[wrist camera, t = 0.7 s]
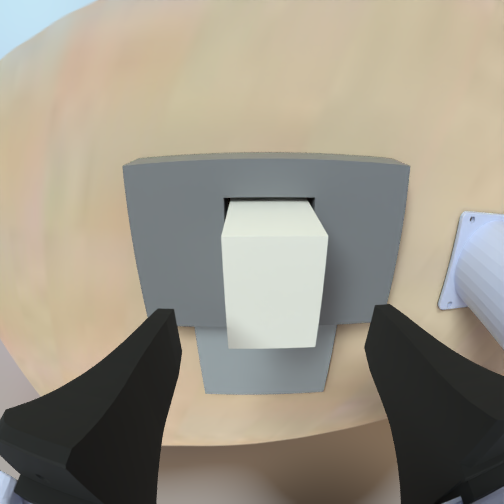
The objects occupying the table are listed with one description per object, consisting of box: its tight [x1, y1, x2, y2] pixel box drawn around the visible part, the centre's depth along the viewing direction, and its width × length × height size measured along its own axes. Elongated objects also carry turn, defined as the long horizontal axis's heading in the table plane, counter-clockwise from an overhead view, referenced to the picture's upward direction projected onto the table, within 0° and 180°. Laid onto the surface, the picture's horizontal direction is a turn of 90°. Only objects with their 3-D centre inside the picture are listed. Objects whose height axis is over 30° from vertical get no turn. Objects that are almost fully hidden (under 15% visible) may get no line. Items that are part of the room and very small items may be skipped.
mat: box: [195, 325, 337, 394], centre depth 23 cm, size 10×8×1 cm
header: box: [123, 152, 410, 327], centre depth 18 cm, size 15×10×2 cm, turn 91°
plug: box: [221, 197, 328, 349], centre depth 16 cm, size 4×6×7 cm
